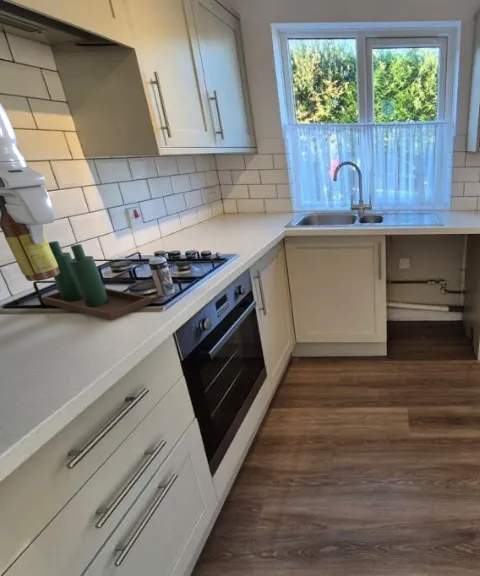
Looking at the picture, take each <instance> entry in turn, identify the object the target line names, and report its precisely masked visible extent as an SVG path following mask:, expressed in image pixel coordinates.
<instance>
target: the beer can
mask: <svg viewBox="0 0 480 576" xmlns="http://www.w3.org/2000/svg"><path fill="white" fill-rule="evenodd" d="M148 266H149V269H150V272H151V275H152V279H153V282H154V283H153V284H154V286H155V289H156V292H157V295H158V296H160V297H162V296H163V297H164V296H169V295H172V294H174V293H176V290H175V286H174V283H173V280H172V276H171V273H170V268H169V265H168V262H167V259H166V257H164V256H160V255H159V256H154V257H151V258H149V260H148Z"/></svg>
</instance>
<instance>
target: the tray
mask: <svg viewBox="0 0 480 576" xmlns="http://www.w3.org/2000/svg"><path fill="white" fill-rule="evenodd" d="M104 289H105V292H106V294H107V297H108V300H109V301H108V302H107V303H105V304H103V305H100V306H96V307H87V306H86V305H85V303H84V300H83V298H82V299H80V300H76V301H71V302H66V301H63V299H62V296H61V294H60V291H57V292H54V293H51V294H48V295H45V296H42V297H41V300H42V302H43V304H44V305H47V306H52V307H55V308H60V309H65V310H69V311H73V312H76V313H81V314H84V315H88V316H93V317H96V318H101V319H105V320H109V321H114V320H116V319H118V318H121V317H123V316H125V315H128V314H131V313H132V312H134V311H137V310H139V309H141V308H144V307H147V306H148V305H151V304H152V300H151V296H148V295H142V294H137V293H132V292H127V291H122V290H117V289H112V288H107V287H104ZM121 295H122V296H121Z"/></svg>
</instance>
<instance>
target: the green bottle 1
mask: <svg viewBox="0 0 480 576" xmlns="http://www.w3.org/2000/svg"><path fill="white" fill-rule="evenodd" d="M48 244H49V246H50V248H51V251H52V253H53V255H54V257H55V260H56V262H57V264H58V269H59V271H60V273H59V274H58V275H57V276H55V277H53V280H54V281H55V284H56V287H57V289H58V292H60V294H61V296H62V299H63V301H66V302H71V301H76V300H80V299H82V298H83V297H82V295H81V292H80V290H79V287H78V284H77V282H76V279H75V277H74V274H73V272H72V269H71V266H70V264H69V260H71V259H73V257H72V255H71V252H63V250H62V248H61V246H60V243H59V241H58V240H54V241H53V240H52V241H48Z"/></svg>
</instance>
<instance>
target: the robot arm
mask: <svg viewBox="0 0 480 576" xmlns="http://www.w3.org/2000/svg"><path fill="white" fill-rule="evenodd" d="M46 185H47V181H46V178H45V176H44V175H43V174H42V173H41V172H39V171H36V170H34V169H33V168H31V167H30V166H29V165H28V164H27V162H26V159H25V156H23V153H21V151H20V149H19V147H18V139H17V135H16V133H15V130H14V128H13V125H12V123H11V120H10V118H9V116H8V114H7V112H6V110H5V108H4V106H3V104H2V103H0V195H1V196H4V199H5V201H6V204H5V207H6V209H7V212H8V214H9V215H10V216H11V217H12V219H13V220H14V221H15V222H17V223H23V224H26V226H27V228H28V229H29V231H30V236H29V238H30V240H31V242H32V243H34V244H41V243H44V242H45V240H44V238H43V235H42V234H43V233H44V226H43V225H48V224H52V223H54V222H55V220H56V214H55V210H54V207H53V204H52V200H51V198H50V195H49V193H48V191H47V189H46V188H45V187H44V186H46ZM0 217H1V211H0Z"/></svg>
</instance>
